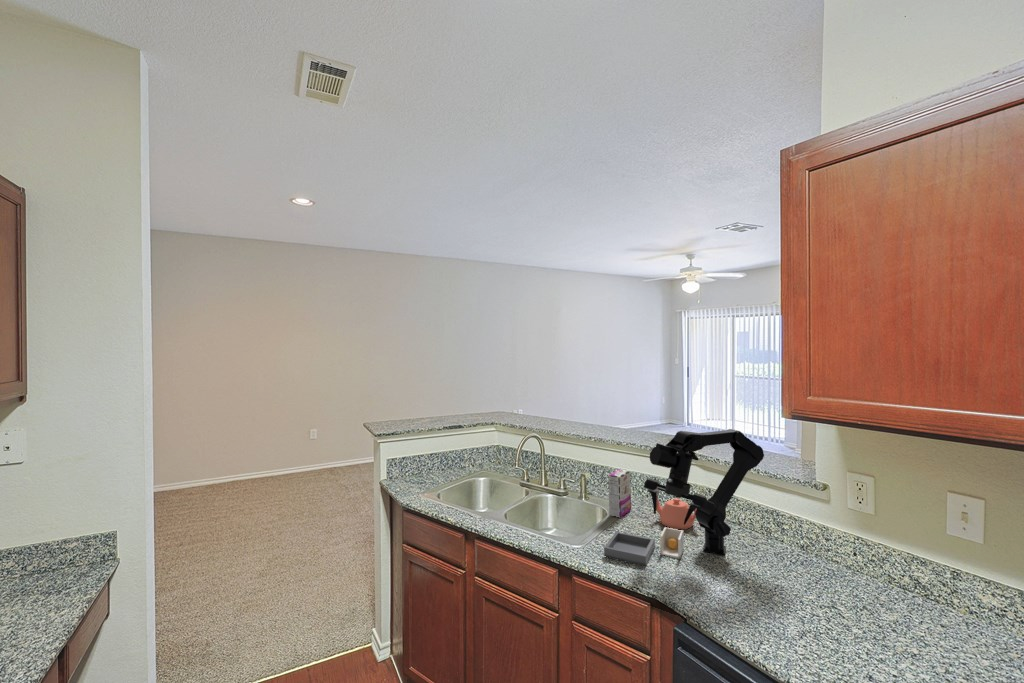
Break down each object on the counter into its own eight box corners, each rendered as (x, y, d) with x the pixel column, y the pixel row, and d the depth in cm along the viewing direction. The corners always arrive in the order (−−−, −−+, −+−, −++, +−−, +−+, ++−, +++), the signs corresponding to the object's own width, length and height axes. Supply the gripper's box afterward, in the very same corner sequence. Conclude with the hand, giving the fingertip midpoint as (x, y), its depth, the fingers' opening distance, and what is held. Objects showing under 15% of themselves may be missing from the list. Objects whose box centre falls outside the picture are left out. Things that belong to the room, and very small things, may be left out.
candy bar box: (620, 507, 184) (619, 468, 185) (631, 510, 181) (631, 470, 182) (608, 516, 176) (608, 474, 176) (620, 518, 173) (619, 476, 173)
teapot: (693, 535, 157) (693, 508, 157) (645, 522, 169) (644, 497, 169) (704, 524, 166) (704, 499, 167) (657, 513, 178) (657, 489, 178)
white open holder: (664, 545, 149) (664, 527, 149) (683, 548, 146) (683, 530, 146) (660, 554, 142) (660, 535, 142) (680, 558, 139) (680, 539, 139)
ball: (668, 544, 147) (668, 535, 147) (678, 546, 146) (678, 537, 146) (667, 550, 145) (666, 540, 144) (677, 552, 143) (676, 542, 143)
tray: (616, 540, 153) (616, 531, 153) (654, 548, 147) (654, 539, 147) (604, 557, 141) (604, 547, 141) (645, 566, 135) (645, 556, 135)
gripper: (646, 463, 140) (635, 512, 139) (710, 482, 131) (698, 535, 130) (652, 461, 150) (641, 507, 148) (711, 479, 141) (700, 528, 140)
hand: (669, 519), depth 141 cm, fingers open, 9 cm apart
